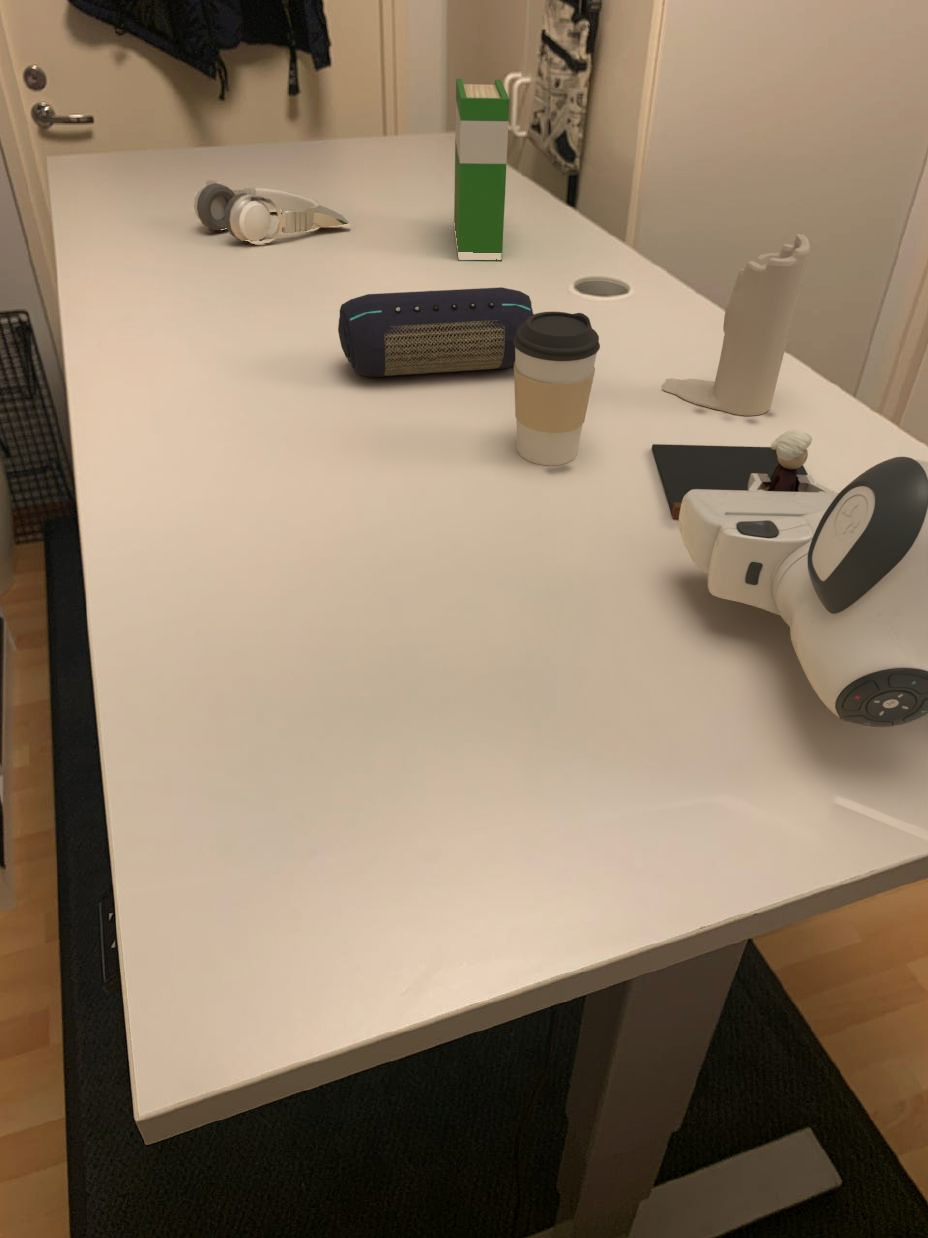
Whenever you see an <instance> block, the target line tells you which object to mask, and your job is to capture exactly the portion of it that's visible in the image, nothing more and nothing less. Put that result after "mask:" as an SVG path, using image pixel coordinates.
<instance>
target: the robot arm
mask: <svg viewBox="0 0 928 1238" xmlns="http://www.w3.org/2000/svg"><path fill="white" fill-rule="evenodd" d="M770 486H771V480H770V478H769V477H768V474H757V473H751V475H750V479H749V483H748V491H743V490H705V489H693V490H691V491H689V492H688V493H687V494H686V495H685V496H684V497H683V500H682V504H681V508H680V514H679V519H678V521H677V523H678V530H679V533H680V534H679V535H680V537H681V539H682V542H683V543H684V547H685V548H686V550H687V553H688V554H689V556H690V558H691V560H692V562H693V563H694V564H695V565H696V566H697V568H698V569H700V570H702V571H703V572H705V573H706V574H707V590H708V592H709V593H710V594H711V595H712V596H713V597H716V598H719V599H724V600H728V601H733V602H737V603H741V604H745V605H749V606H752V607H755V608H759V609H761V610H764V611H767V612H770V613H772V614H774V615H778V616H780V617H781V618H782V620H783V621H784V622H785V623H786V625H788V627H789V636H790V641H791V645H792V647H793V649H794V652H795V654H796V657H797V660H798V662H799V664H800V665H801V668H802V670H803V673H804V674H805V676H806V678H807V680H808V682H809V684H810V685H811V687H812V689H813V690H814V692H815V694H816V695H817V696H818V698H819V700H820V701H821V702H822V703H823V704H824V705H825V707H826V708H827V709H828V711H830V712H831V713H832V714H834V715H835V716H836V717H837V718H838V719H841V720H842V721H844V722H848V723H851V724H856V725H861V726H866V727H874V728H891V727H895V726H901V725H905V724H908V723H911V722H914V721H917V720H918V719H922V718H923V717H925V716H927V715H928V461H925V460H920V459H916V458H912V457H908V456H896V457H892V458H888V459H886V460H883V461H881V462H879V463H877V464H875V465H873V466H872V467H870V468H868V469H866V470H865V471H864V472H862V473H860V475H858V476H857V477H856V478H854V479H853V480H852V481H851V482H850V483H848V484H847V485H846V486H845V487H844V488H843V489H841V490H840V491H839V492H835V491H833V490H832V489H830V488H828V487H826V486H824V485H823V484H820V483H818V482H816V481H815V479H814V478H813V476H812V475H811V474H808V475H797V476H796V485H795V489H794V491H793V492H781V491H768V489H769V488H770Z"/></svg>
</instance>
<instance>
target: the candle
mask: <svg viewBox="0 0 928 1238" xmlns="http://www.w3.org/2000/svg"><path fill="white" fill-rule="evenodd" d="M810 253H811V244H810V241H809V238H808V237H807V236H806V235H804V234H802V233H798V234H797V235H796V236H795V239H794V243H793V244H789V243H783V245H782V247H781V249H780V251H779V252H770V253H764V254H760V255H758V257H756V258H755V260H750V261H748V262H747V263H746V265H745V267H743V268H740V269H739V271H738V274H737V277H736V280H735V283H734V285H733V288H732V291H731V293H730V295H729V298H728V300H727V304H726V307H725V312H724V318H723V326H722V327H723V333H724V334H723V339H722V340H723V341H722V345H721V346H722V347H721V351H720V356H719V361H718V367H717V370H716V375H715V379H714V381H711V380H705V379H699V378H686V379H678V378H667V379H665V382H664V383H663V384H662V386H661V389H662V390H663V391H664V392H666V393H669V394H673V395H676V396H678V397H679V398H680V399H682V400H684V401H687V402H688V403H691V404H695V405H698V406H702V407H705V408H710V409H713V410H716V411H717V410H718V411H721V412H725V413H729V414H733V415H736V416H745V417H746V416H747V417H748V416H751V417H752V416H760V415H764V414H766V413H767V412H768V411H770V409H771V407H772V404H773V403H772V402H773V398H774V395H775V391H776V387H777V383H778V379H779V375H780V371H781V367H782V364H783V359H784V355H785V351H786V348H787V347H786V345H787V341H788V337H789V333H790V329H791V325H792V321H793V318H794V314H795V312H796V307H797V304H798V301H799V296H800V292H801V288H802V286H803V281H804V278H805V274H806V270H807V265H808V261H809V259H810V258H809V257H810Z"/></svg>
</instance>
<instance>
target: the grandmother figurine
mask: <svg viewBox="0 0 928 1238" xmlns="http://www.w3.org/2000/svg"><path fill="white" fill-rule="evenodd" d="M812 441H813V437H812V435H810V434H809V433H808V432H805V431H803V430H796V429H793V430H791V429H790V430H788V431H786V432H784V433H782V434H780V435H779V436H778V437H777V438H776V439H775V440H773V441H772V443H771V445H770V447H771V448H772V449H773V450H776V453H777V458H778V461H779V464H778V465H777V466H776V468H775V470H774V472H773V474H772V476H771V478H770V480H771V486H770V488H769V489H768V491H781V492H793V491H794V489H795V485H796V476H797V468H799V467H801V466H802V465H803V466H804V464H805V463H806V462H807V460H808V456H809V452H808V448H809V447H810V446H811V444H812Z"/></svg>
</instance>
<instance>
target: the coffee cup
mask: <svg viewBox="0 0 928 1238" xmlns="http://www.w3.org/2000/svg"><path fill="white" fill-rule="evenodd" d="M533 314H534V315H532V316H530V317H529V318H528V319H527V320H526V322H525V323H523V324H522V325H521V326H520V327H519V328H518V329H517V331H516V336H515V337H514V339H513V344H514V346H515V360H516V361H515V362H514V367H513V381H514V382H513V383H514V412H515V413H514V414H515V420H516V451H517V453H518V455H519V456H520V457H521V458H522V459H524V460H526V461H527V462H530V463H532V464H536V465H540V466H541V465H542V466H560V465H564V464H569V463H570V462H572V461H573V460H574V459H576V457H577V454H578V450H579V445H580V441H581V434H582V429H583V425H584V423H585V420H586V415H587V411H588V407H589V406H588V405H589V401H590V395H591V391H592V387H593V382H594V376H595V372H596V367H595V364H596V359H597V354H598V352H599V351H600V348H601V344H600V341H599V340H600V336H599V334H598V332H597V331H596V330H595V329H594V328H593V327H592V323H591V321H590V317H589V316H587V314H584V313H582V312H576V313H570V312H564V311H542V312H537V313H533Z"/></svg>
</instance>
